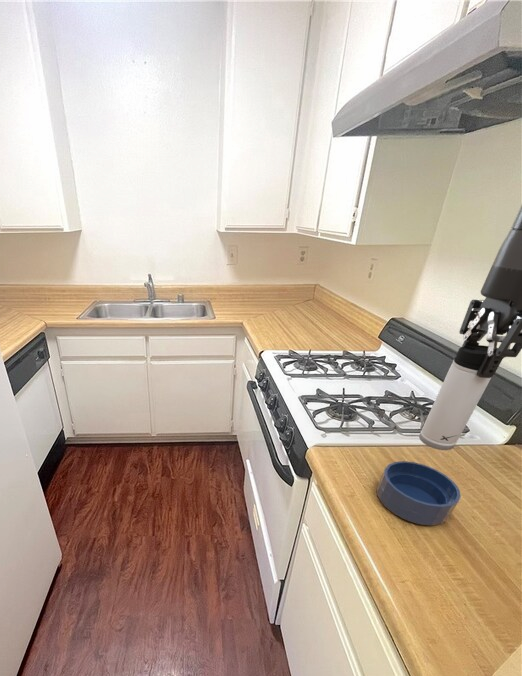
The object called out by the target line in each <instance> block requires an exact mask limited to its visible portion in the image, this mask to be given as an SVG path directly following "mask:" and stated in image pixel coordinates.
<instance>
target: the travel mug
mask: <svg viewBox="0 0 522 676" xmlns="http://www.w3.org/2000/svg"><path fill="white" fill-rule="evenodd" d="M488 346H489V345H482V344H481V345H480V344H479V345H466V346H464V347H462V346H461V347H459V348H458V350H457V352H456V356H454V359H452V362H451V365H450V367H449V369H448V371H447V373H446V375H445V378H444V380H443V382H442V384H441V386H440V389H439V391H438V393H437V395H436V397H435V400H434V402H433V403H432V406H431V408H430V410H429V412H428V415H427V417H426V419H425V421H424V424H423V426H422V428H421V430H420V433H419V434H418V439H419V440H420V441H421V443H423V444H424V445H425V446H427V447H429V448H431V449H435V450H438V451H439V450H440V451H449V450H453V449H454V448H455V446H456V445H457V442H458V441H459V439H460V437H461V435H462V433H463V431H464V429H465V428H466V426H467V425H468V422H469V420H470V418H471V416H472V415H473V413H474V411H475V409H476V407H477V405H478V403H479V401H480V400H481V398H482V396H483V394H484V392H485V391H486V388H487V387H488V386H489V383H490V381H491V379H492V377H491V378H481V377H479V376H477V372H478V370H479V368H480V366H481V364H482V362H483V360H484V358H485V356H486V355H487V352H488ZM498 348H499V347H497V348H496V349H498Z"/></svg>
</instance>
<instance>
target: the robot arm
mask: <svg viewBox="0 0 522 676" xmlns="http://www.w3.org/2000/svg"><path fill="white" fill-rule="evenodd" d="M480 295H481V296H482V297H485V298H484V299H471V300H470V302H469V304H468V307H467V310H466V312H465V315H464V318H463V321H462V323H461V326H460V328H459V334H460V335H463V336H462V340H463V343H462V345H461V347H464V346H466V345H480V342H481V340H483V338H484V337H485V336H486V338H485V339H486V342H488V345H487V346H488V352H487V355H486V356H485V358H484V360H483V362H482V364H481V366H480V368H479V370H478V372H477V376H479V377H481V378H491V379H492V377H493V376H494V375H495V374H496V372H497V370H498V368H499V367H500V365H501V363H502V361H503V360H504V358H516V357H518V355H519V354H520V352H521V351H522V204H521V205H520V207H519V209H518V210H517V214H516V216H515V217H514V220H513V223H512V225H511V227H510V229H509V231H508V233H507V235H506V236H505V238H504V239H503V241H502V242H501V245H500V247H499V249H498V251H497V254H496V256H495V258H494V261H493V262H492V264H491V266H490V269H489V271H488V273H487V276H486V278H485V280H484V282H483V285H482V287H481V289H480ZM498 343H500V344H499V346H498ZM511 344H514V345H513V346H512V348H511ZM496 348H498V349H496Z"/></svg>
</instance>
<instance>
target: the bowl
mask: <svg viewBox="0 0 522 676" xmlns="http://www.w3.org/2000/svg"><path fill="white" fill-rule="evenodd" d="M376 495H377V497H378V499H379V501H380V502H381V504H382V505H383V506H384V507H385V509H387V510H388V511H390V512H391V513H392V514H394V515H395V516H397V517H399V518H401V519H403V520H405V521H407V522H411V523H414V524H416V525H423V526H438V525H442V524H443V523H445V522H447V521H448V520H449V518H450V516H451V515H452V513H453V511H454V510H455V508H456V506H457V505H458V503H459V501H460V499H461V497H462V495H461V490H460V488H459V487H458V485H457V484H456V482H455V481H453V480H452V478H449V476H448V475H446V474H445V473H443V472H441V471H439V470H437V469H435V468H434V467H431V466H428V465H426V464H422V463H419V462H415V461H408V460H401V461H400V460H399V461H394V462H392V463H388V464H387V466H386V467H385V468H384V470H383V471H382V475H381V476H380V479H379V482H378V484H377V487H376Z"/></svg>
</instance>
